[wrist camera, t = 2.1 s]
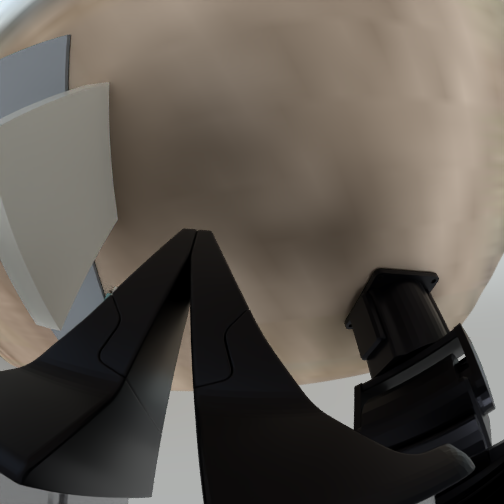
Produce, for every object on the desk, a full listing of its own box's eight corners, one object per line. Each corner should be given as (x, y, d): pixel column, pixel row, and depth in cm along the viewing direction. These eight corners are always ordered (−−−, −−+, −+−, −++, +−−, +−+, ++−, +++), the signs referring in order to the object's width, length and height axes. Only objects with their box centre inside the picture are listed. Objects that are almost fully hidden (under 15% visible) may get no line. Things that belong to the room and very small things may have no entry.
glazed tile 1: (109, 82, 10) (-13, 132, 4) (118, 219, 15) (60, 331, 9) (76, 86, 10) (-45, 143, 4) (90, 217, 15) (26, 321, 9)
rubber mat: (70, 34, 8) (67, 34, 7) (126, 352, 25) (126, 355, 24) (-24, 71, 7) (-27, 72, 7) (58, 337, 24) (58, 339, 23)
